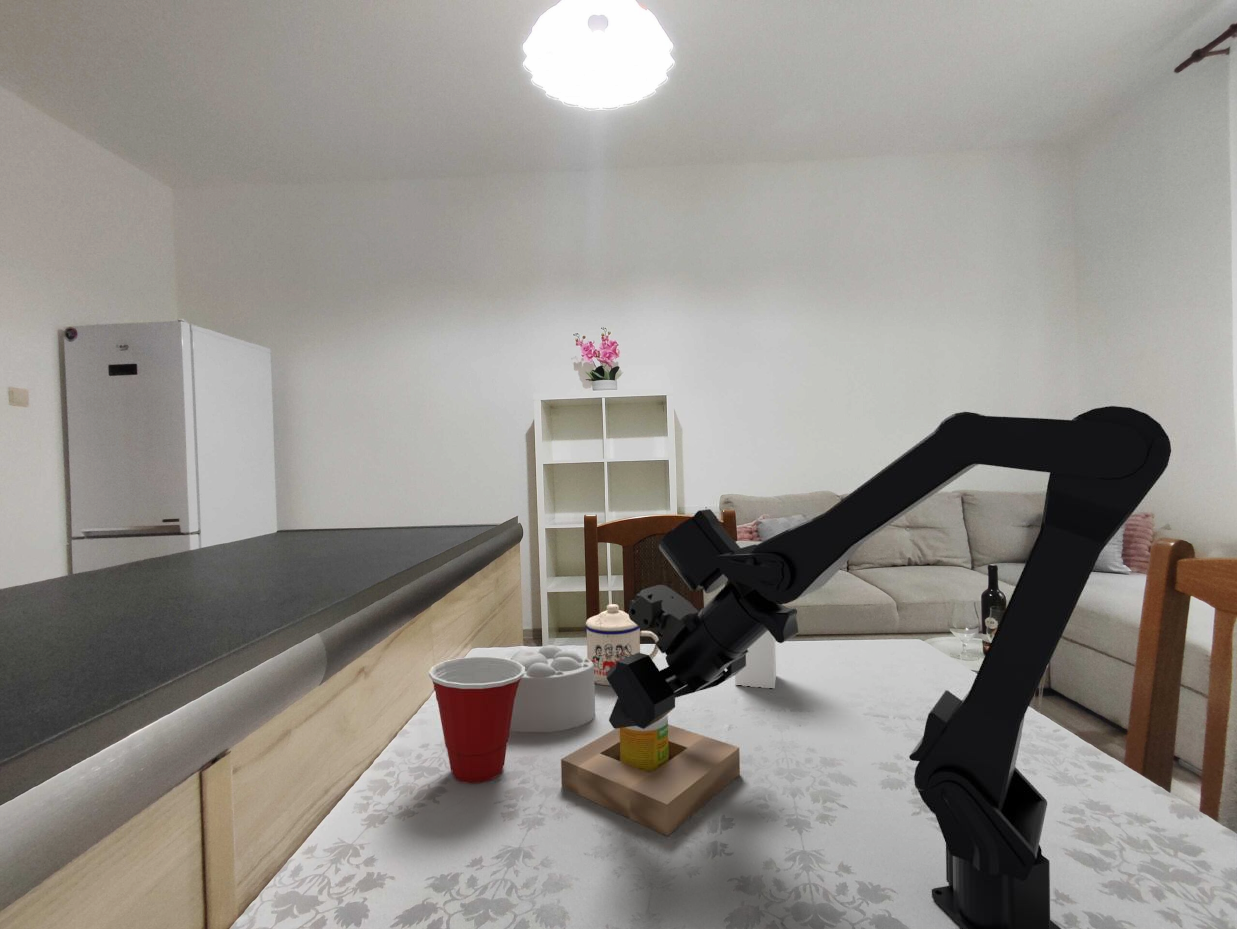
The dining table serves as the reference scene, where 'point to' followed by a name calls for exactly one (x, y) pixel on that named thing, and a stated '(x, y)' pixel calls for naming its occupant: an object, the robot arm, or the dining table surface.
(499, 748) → the plastic cup
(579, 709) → the lumpy-topped squat cylinder
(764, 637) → the milk
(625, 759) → the supplement bottle
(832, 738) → the dining table surface
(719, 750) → the bottle holder
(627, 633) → the teacup with lid
